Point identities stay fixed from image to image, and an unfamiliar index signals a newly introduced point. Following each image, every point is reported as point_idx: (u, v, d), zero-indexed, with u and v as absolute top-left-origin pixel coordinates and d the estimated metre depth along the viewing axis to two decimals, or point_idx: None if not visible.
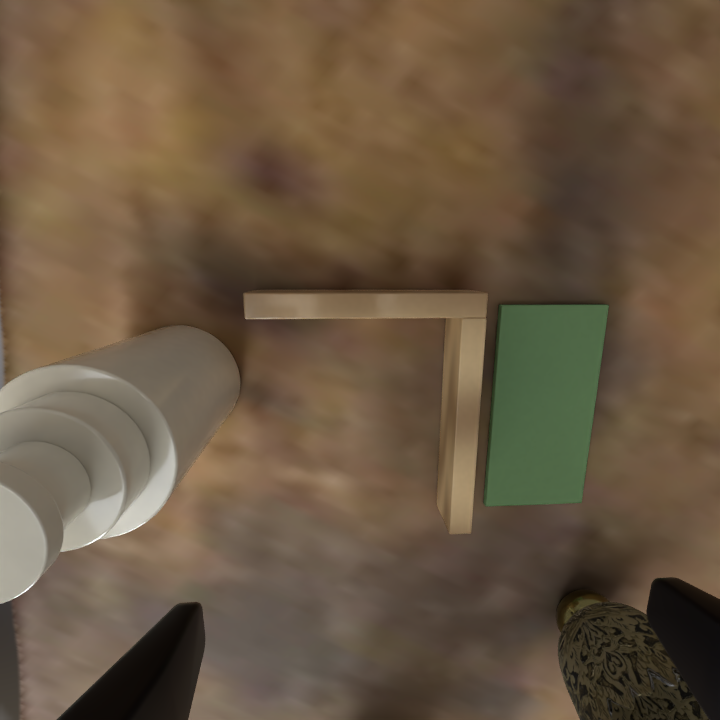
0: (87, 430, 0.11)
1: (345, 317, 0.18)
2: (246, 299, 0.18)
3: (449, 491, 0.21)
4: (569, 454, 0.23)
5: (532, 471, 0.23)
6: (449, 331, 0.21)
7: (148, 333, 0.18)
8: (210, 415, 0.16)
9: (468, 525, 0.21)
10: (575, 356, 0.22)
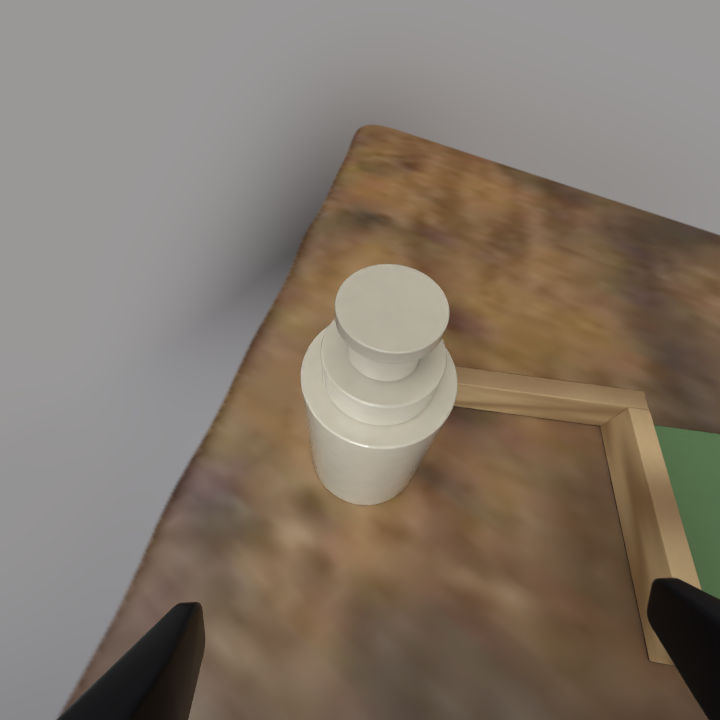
0: None
1: (528, 393, 0.22)
2: None
3: None
4: None
5: None
6: (611, 435, 0.23)
7: None
8: None
9: None
10: None
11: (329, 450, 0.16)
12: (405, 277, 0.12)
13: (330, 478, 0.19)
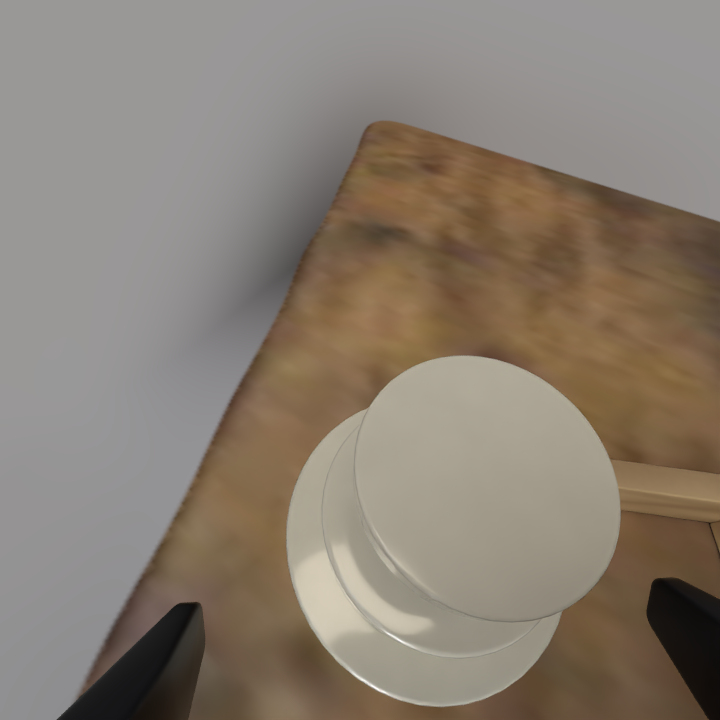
0: None
1: (620, 487, 0.15)
2: None
3: None
4: None
5: None
6: None
7: None
8: None
9: None
10: None
11: None
12: (503, 388, 0.06)
13: None
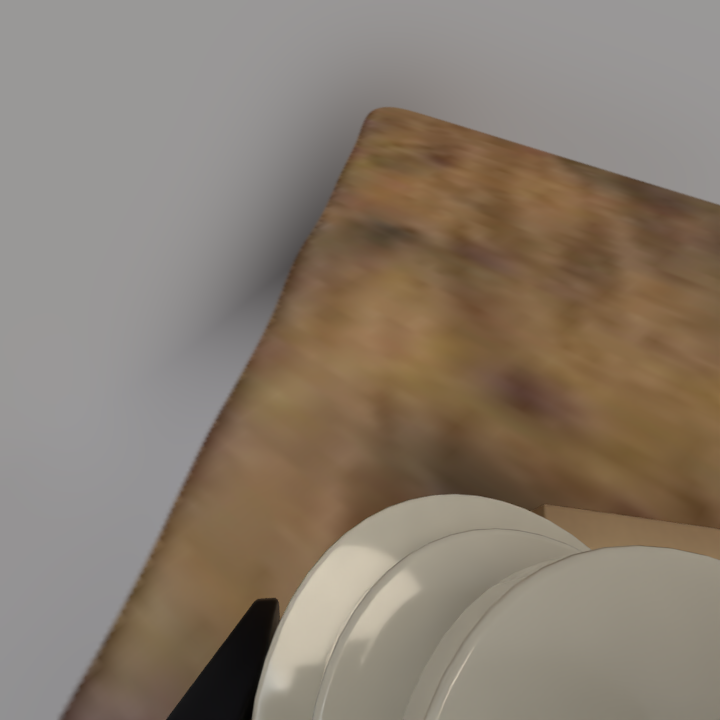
0: None
1: None
2: (549, 513, 0.13)
3: None
4: None
5: None
6: None
7: None
8: None
9: None
10: None
11: None
12: None
13: None
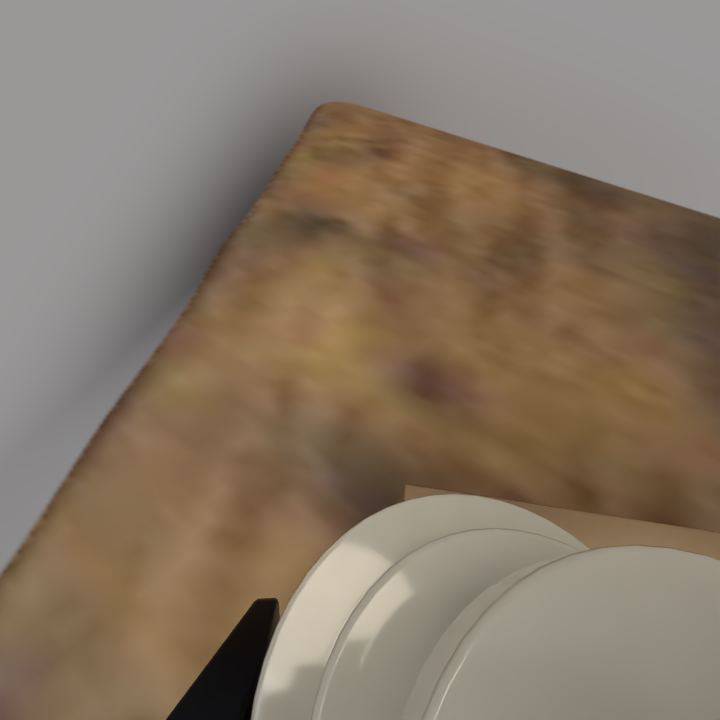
0: None
1: None
2: (409, 493, 0.13)
3: None
4: None
5: None
6: None
7: None
8: None
9: None
10: None
11: None
12: None
13: None
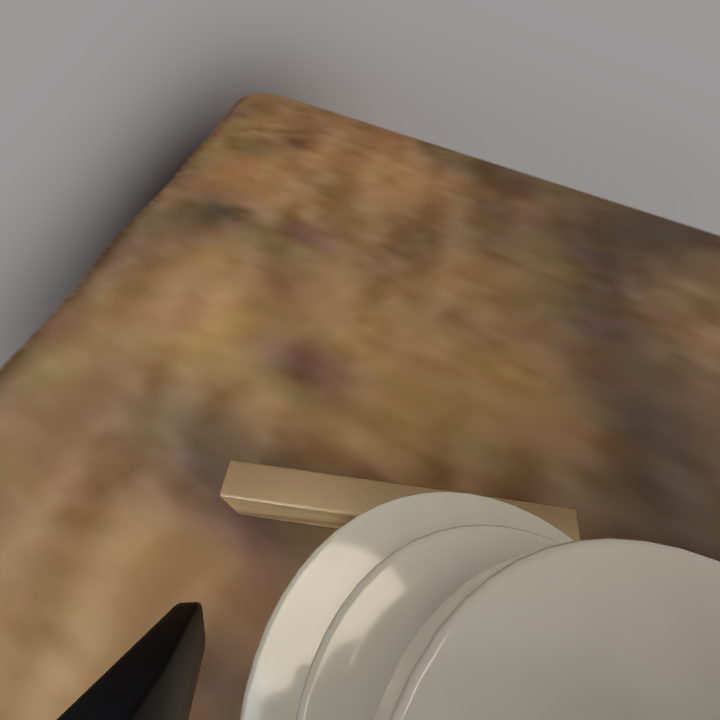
0: None
1: None
2: (232, 468, 0.13)
3: None
4: None
5: None
6: None
7: None
8: None
9: None
10: None
11: None
12: None
13: None
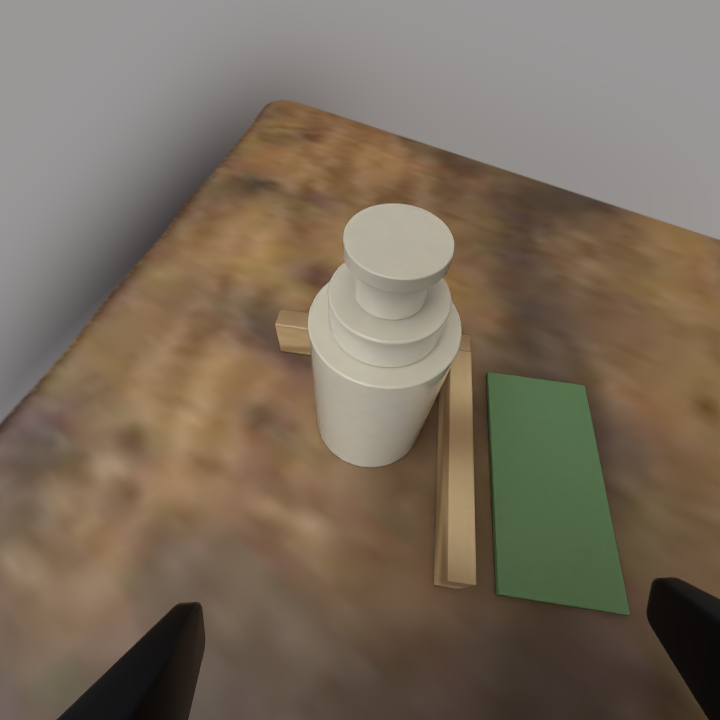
0: None
1: None
2: (281, 312, 0.23)
3: (446, 523, 0.18)
4: (591, 533, 0.20)
5: (550, 549, 0.19)
6: None
7: None
8: None
9: (471, 570, 0.16)
10: (566, 424, 0.23)
11: (335, 398, 0.16)
12: (411, 215, 0.13)
13: (335, 436, 0.19)
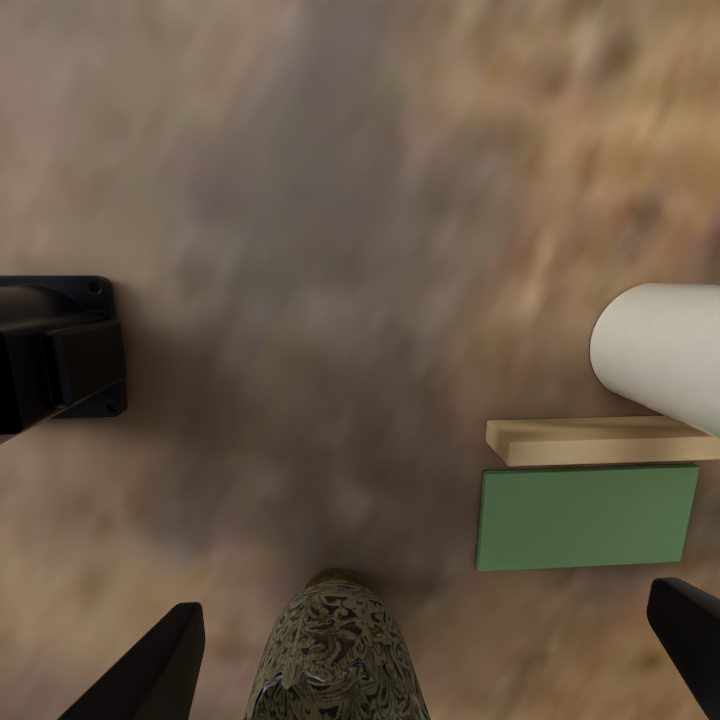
0: None
1: None
2: None
3: (554, 437, 0.18)
4: (537, 551, 0.22)
5: (522, 517, 0.22)
6: None
7: None
8: None
9: (519, 462, 0.18)
10: (638, 540, 0.22)
11: None
12: None
13: (645, 318, 0.17)
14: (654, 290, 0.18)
